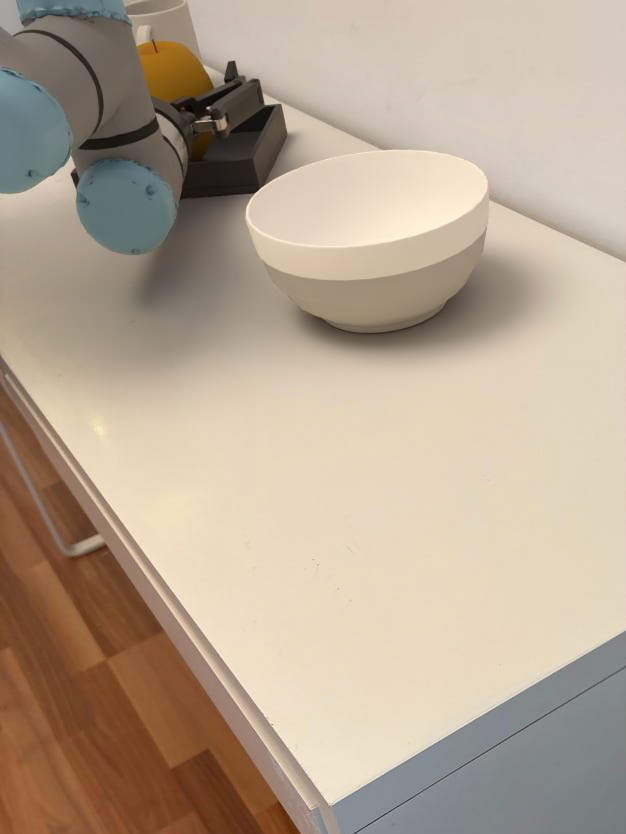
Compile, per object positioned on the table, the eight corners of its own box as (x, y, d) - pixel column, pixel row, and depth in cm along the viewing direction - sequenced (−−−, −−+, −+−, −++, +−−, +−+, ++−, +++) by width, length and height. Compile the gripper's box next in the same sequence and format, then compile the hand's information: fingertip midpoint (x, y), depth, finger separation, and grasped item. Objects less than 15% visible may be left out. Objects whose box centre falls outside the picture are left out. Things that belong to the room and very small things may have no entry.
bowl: (224, 333, 80) (193, 226, 73) (357, 239, 90) (340, 139, 84) (417, 379, 72) (400, 264, 66) (537, 271, 83) (532, 163, 77)
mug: (180, 80, 132) (157, -7, 125) (226, 88, 128) (204, -1, 121) (115, 104, 127) (87, 16, 120) (160, 114, 122) (134, 23, 115)
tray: (81, 206, 102) (69, 173, 100) (127, 147, 114) (117, 117, 112) (260, 192, 101) (252, 158, 99) (287, 134, 113) (281, 103, 111)
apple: (250, 152, 107) (221, 30, 99) (183, 183, 102) (146, 57, 94) (191, 139, 112) (159, 22, 104) (125, 169, 107) (85, 48, 99)
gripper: (27, 210, 92) (68, 134, 107) (290, 176, 93) (294, 106, 107) (-8, 124, 87) (41, 57, 102) (272, 89, 87) (279, 28, 102)
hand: (171, 82), depth 105 cm, fingers open, 13 cm apart
